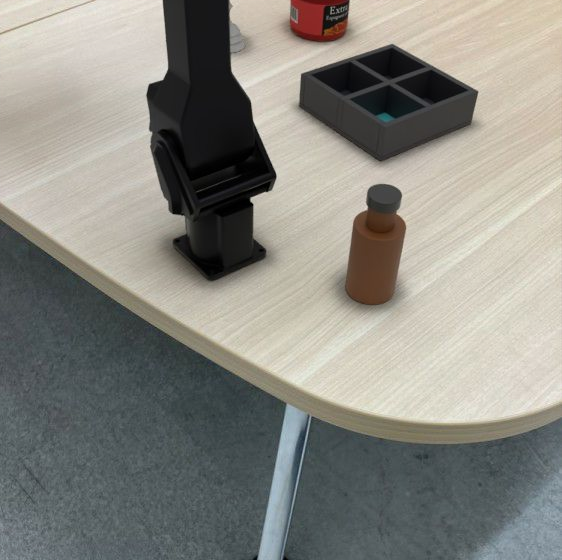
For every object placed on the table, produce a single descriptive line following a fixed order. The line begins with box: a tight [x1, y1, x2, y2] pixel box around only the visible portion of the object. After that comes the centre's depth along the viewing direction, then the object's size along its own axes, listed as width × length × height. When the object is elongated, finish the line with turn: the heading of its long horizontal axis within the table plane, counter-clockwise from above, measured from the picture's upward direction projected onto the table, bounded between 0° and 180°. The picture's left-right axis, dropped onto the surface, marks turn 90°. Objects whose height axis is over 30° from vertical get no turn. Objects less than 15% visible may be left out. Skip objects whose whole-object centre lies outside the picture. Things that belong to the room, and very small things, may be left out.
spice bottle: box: [344, 183, 407, 305], centre depth 67 cm, size 4×4×10 cm
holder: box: [298, 43, 479, 162], centre depth 90 cm, size 14×14×4 cm
